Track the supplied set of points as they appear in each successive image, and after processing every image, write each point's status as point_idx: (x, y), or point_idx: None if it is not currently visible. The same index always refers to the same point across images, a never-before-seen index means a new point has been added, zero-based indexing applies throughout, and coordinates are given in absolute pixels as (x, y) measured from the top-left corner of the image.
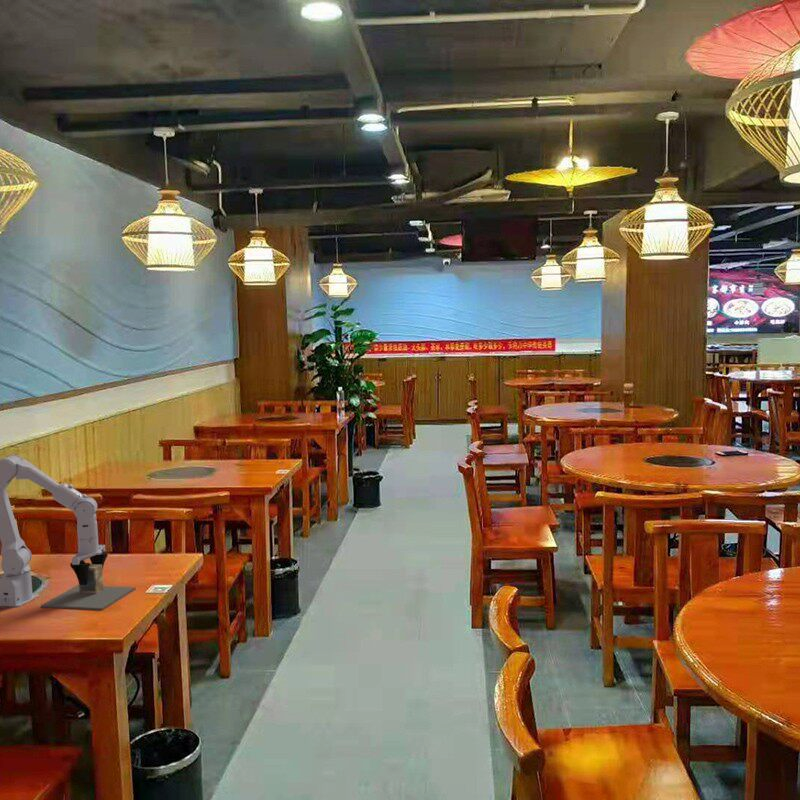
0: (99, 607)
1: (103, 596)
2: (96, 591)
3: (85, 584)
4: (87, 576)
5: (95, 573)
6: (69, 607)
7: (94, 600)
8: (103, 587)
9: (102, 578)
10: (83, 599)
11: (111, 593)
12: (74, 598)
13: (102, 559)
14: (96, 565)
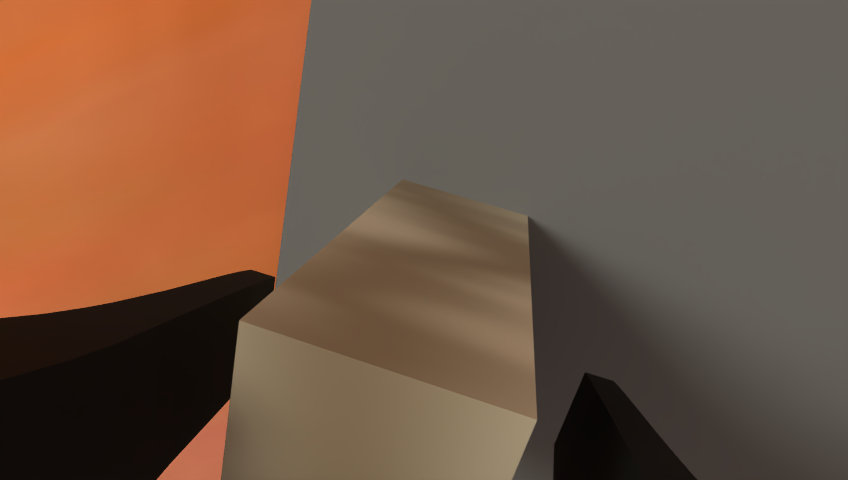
0: None
1: (666, 98)
2: (526, 227)
3: (617, 388)
4: (633, 445)
5: (531, 342)
6: None
7: (807, 168)
8: (395, 185)
9: (370, 219)
10: (715, 307)
11: (559, 28)
12: (647, 401)
13: (14, 392)
14: (306, 431)
